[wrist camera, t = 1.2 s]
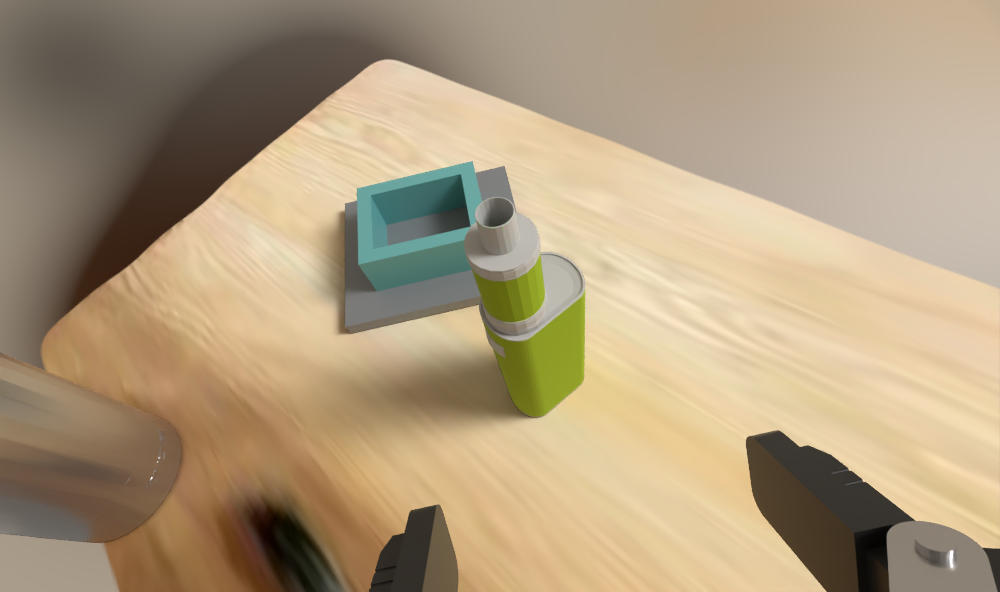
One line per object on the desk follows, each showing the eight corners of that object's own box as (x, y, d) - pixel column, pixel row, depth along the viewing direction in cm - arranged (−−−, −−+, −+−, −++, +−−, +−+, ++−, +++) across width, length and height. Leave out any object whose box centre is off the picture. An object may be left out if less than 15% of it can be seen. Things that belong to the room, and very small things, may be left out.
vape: (499, 390, 36) (427, 214, 19) (559, 341, 37) (540, 137, 21) (531, 427, 34) (482, 270, 17) (592, 375, 36) (602, 181, 19)
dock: (351, 333, 41) (323, 302, 36) (350, 211, 48) (326, 173, 44) (536, 291, 40) (530, 254, 36) (506, 175, 48) (498, 133, 43)
